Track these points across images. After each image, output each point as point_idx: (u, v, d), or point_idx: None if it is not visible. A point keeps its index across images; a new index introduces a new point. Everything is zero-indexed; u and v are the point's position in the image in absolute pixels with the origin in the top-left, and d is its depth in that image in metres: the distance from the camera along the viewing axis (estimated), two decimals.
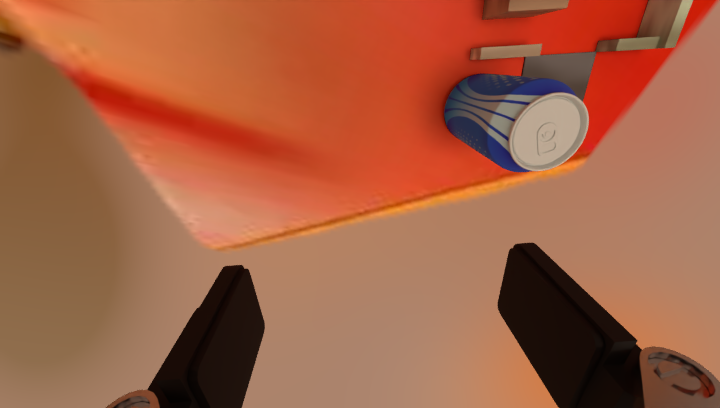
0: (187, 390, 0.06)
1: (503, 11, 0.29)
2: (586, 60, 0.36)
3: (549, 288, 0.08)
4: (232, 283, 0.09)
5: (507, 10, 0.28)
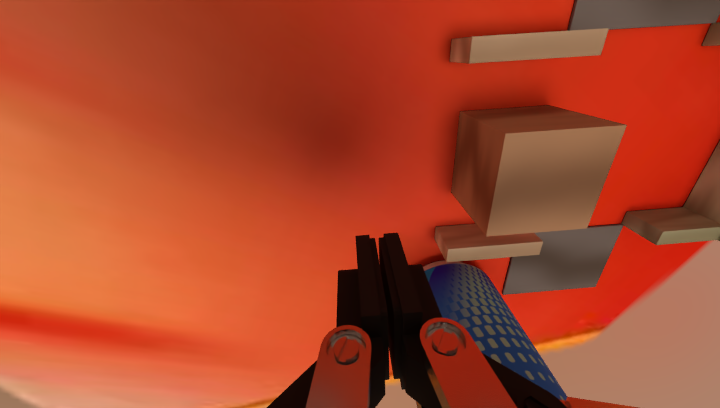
0: (381, 326, 0.07)
1: (479, 225, 0.17)
2: (608, 234, 0.24)
3: (385, 271, 0.09)
4: (371, 248, 0.10)
5: (485, 233, 0.17)
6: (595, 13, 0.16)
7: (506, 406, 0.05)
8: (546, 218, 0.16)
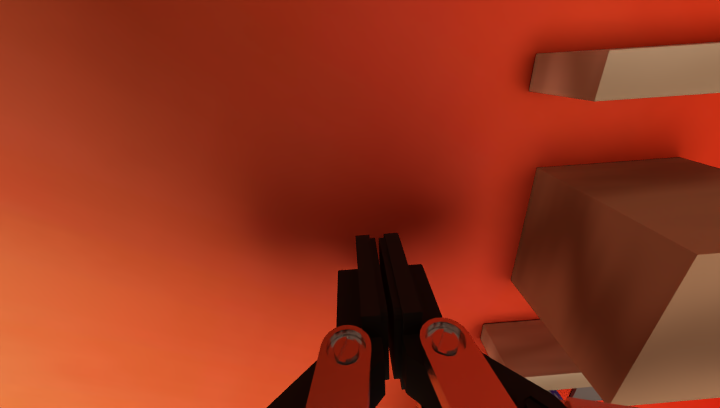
0: (381, 326, 0.07)
1: (586, 375, 0.10)
2: None
3: (385, 271, 0.09)
4: (371, 248, 0.10)
5: (605, 400, 0.09)
6: None
7: (506, 406, 0.05)
8: None
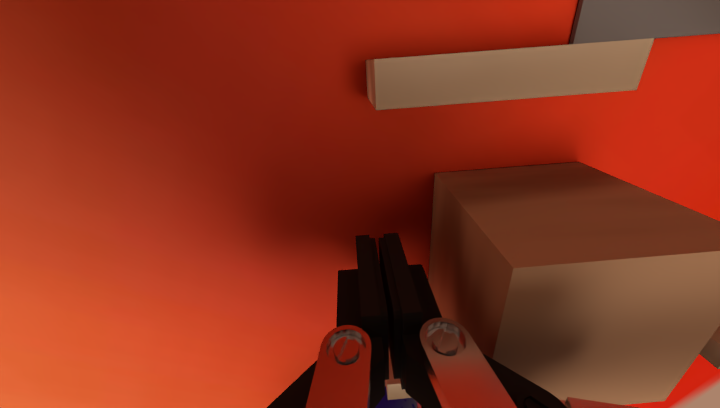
0: (381, 326, 0.07)
1: None
2: None
3: (385, 271, 0.09)
4: (371, 248, 0.10)
5: None
6: (618, 11, 0.09)
7: (506, 406, 0.05)
8: (591, 391, 0.09)
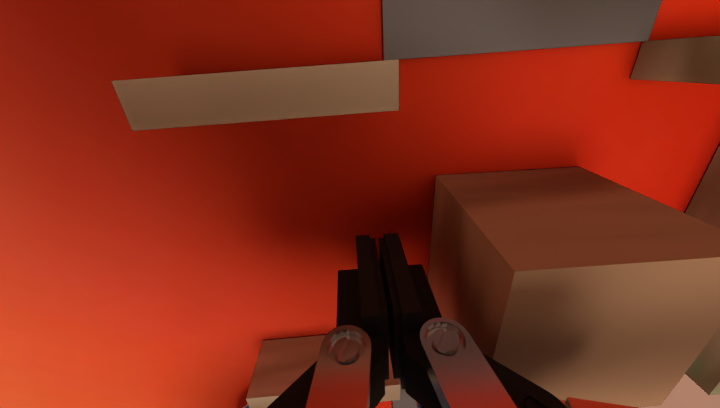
0: (381, 326, 0.07)
1: None
2: None
3: (385, 271, 0.09)
4: (371, 248, 0.10)
5: None
6: (422, 27, 0.09)
7: (506, 406, 0.05)
8: (589, 395, 0.09)
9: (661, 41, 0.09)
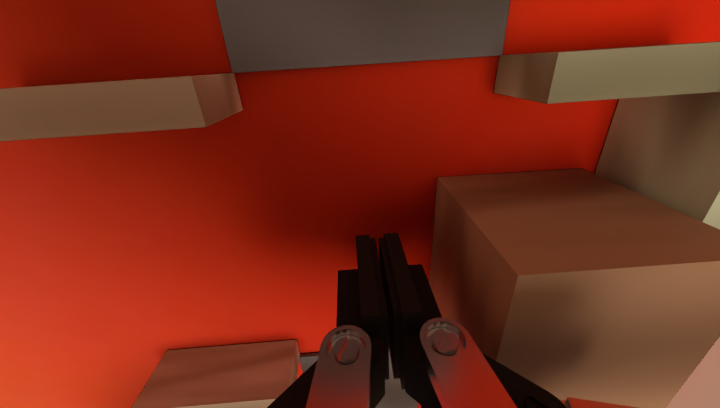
0: (381, 326, 0.07)
1: None
2: None
3: (385, 271, 0.09)
4: (371, 248, 0.10)
5: None
6: (265, 40, 0.09)
7: (506, 406, 0.05)
8: (592, 398, 0.09)
9: (508, 56, 0.09)
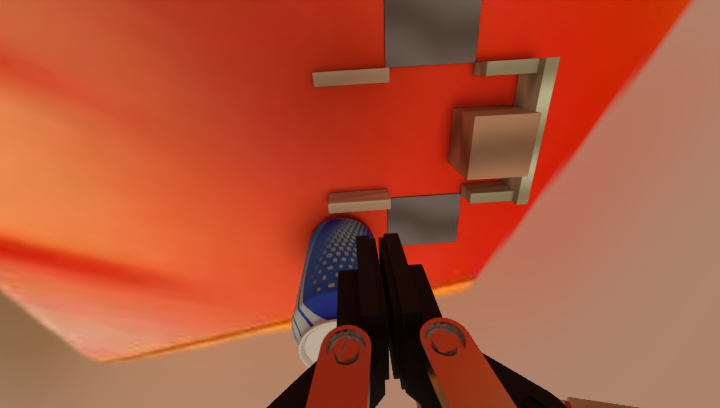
0: (381, 326, 0.07)
1: (463, 175, 0.29)
2: (452, 200, 0.35)
3: (385, 271, 0.09)
4: (371, 248, 0.10)
5: (466, 178, 0.28)
6: (398, 57, 0.28)
7: (506, 406, 0.05)
8: (502, 169, 0.27)
9: (476, 62, 0.28)
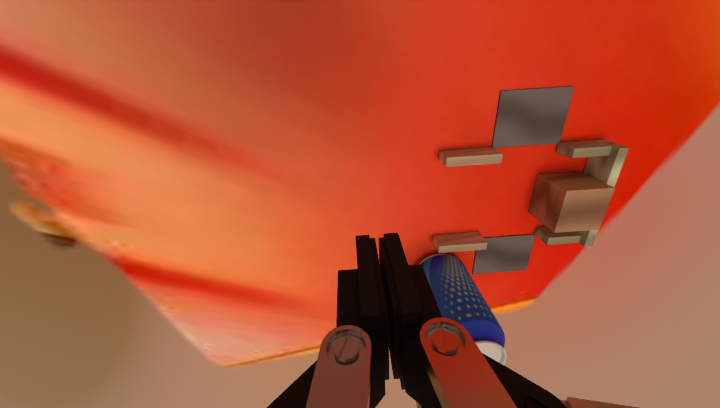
0: (381, 326, 0.07)
1: (549, 228, 0.38)
2: (528, 239, 0.44)
3: (385, 271, 0.09)
4: (371, 248, 0.10)
5: (553, 231, 0.37)
6: (503, 140, 0.37)
7: (506, 406, 0.05)
8: (581, 225, 0.37)
9: (561, 144, 0.37)
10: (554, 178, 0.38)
